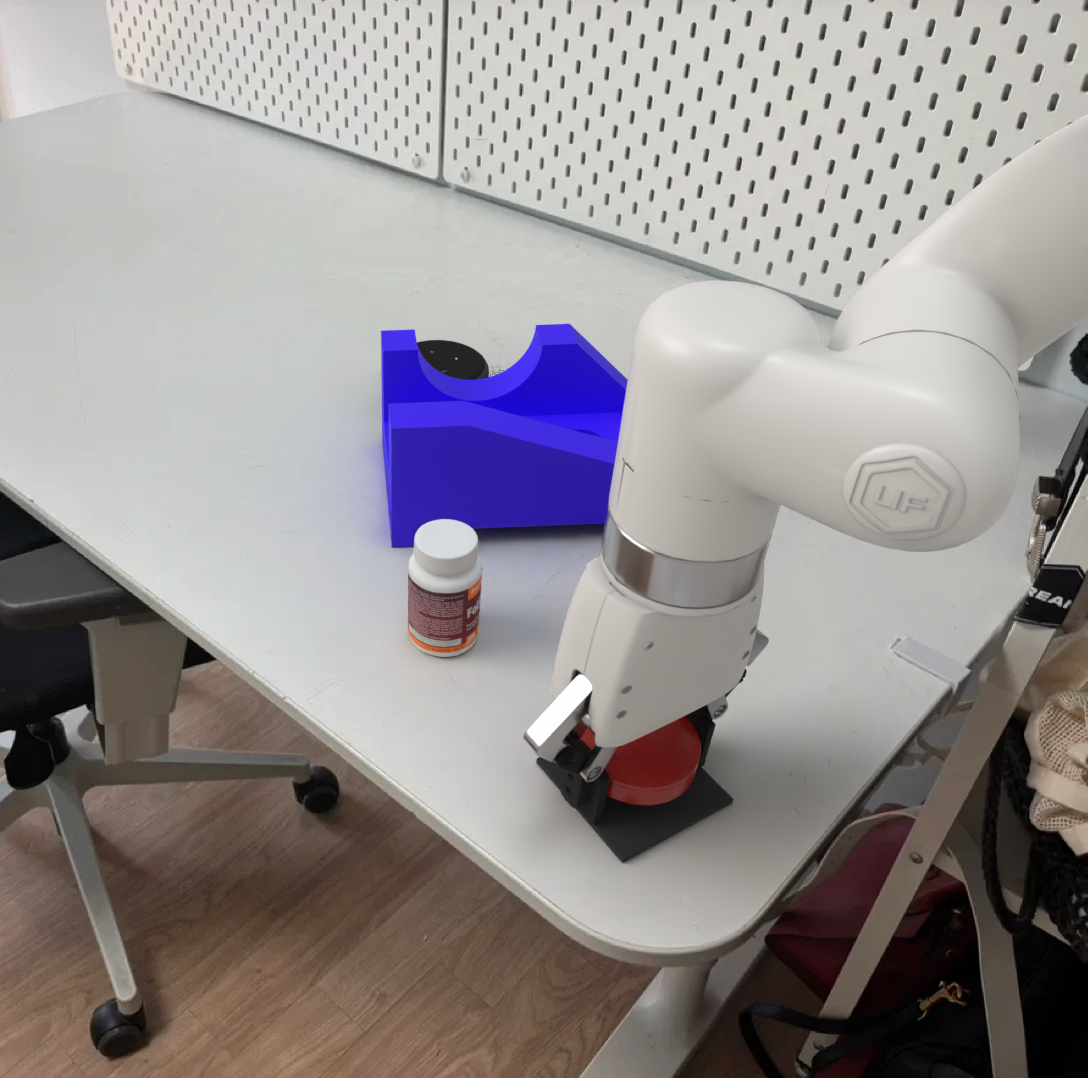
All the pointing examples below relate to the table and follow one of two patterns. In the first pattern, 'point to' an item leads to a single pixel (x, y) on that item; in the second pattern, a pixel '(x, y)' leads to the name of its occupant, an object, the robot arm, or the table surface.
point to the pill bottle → (444, 588)
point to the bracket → (500, 436)
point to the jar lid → (653, 764)
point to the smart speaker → (454, 359)
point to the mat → (651, 814)
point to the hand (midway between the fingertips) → (631, 775)
